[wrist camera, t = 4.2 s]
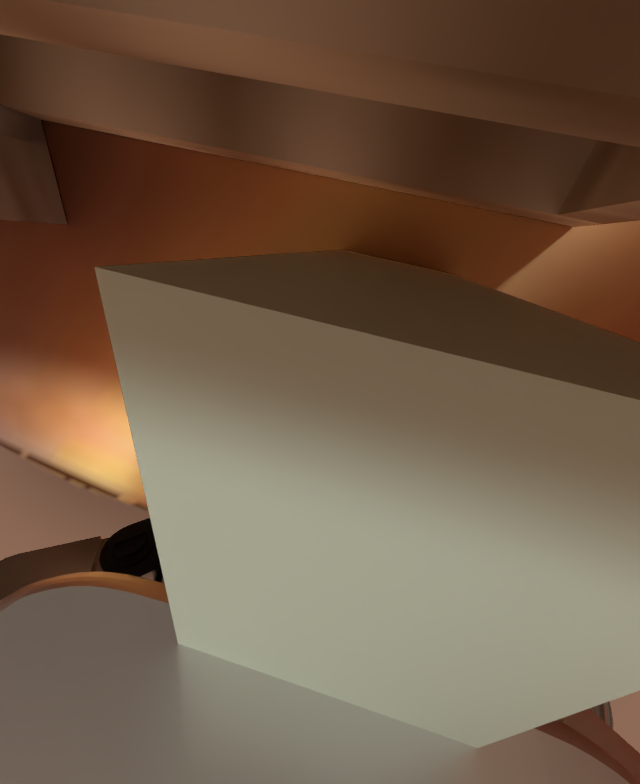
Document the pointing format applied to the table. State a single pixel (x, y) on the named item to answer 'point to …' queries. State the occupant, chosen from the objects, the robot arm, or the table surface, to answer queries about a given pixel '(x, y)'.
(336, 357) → the pale white box
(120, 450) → the table surface
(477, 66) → the cabinet
